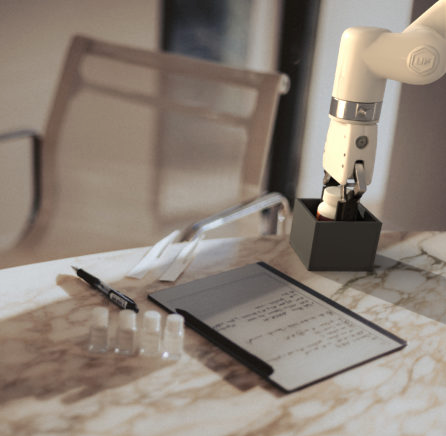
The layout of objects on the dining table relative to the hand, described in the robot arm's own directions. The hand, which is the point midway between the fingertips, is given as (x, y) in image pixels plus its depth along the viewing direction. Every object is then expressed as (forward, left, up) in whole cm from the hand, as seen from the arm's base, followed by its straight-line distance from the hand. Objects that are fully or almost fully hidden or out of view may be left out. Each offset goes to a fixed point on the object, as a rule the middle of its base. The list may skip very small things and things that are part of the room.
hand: (336, 215), depth 104 cm
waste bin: (0, 0, -8) cm, 8 cm away
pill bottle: (0, 0, -7) cm, 7 cm away
